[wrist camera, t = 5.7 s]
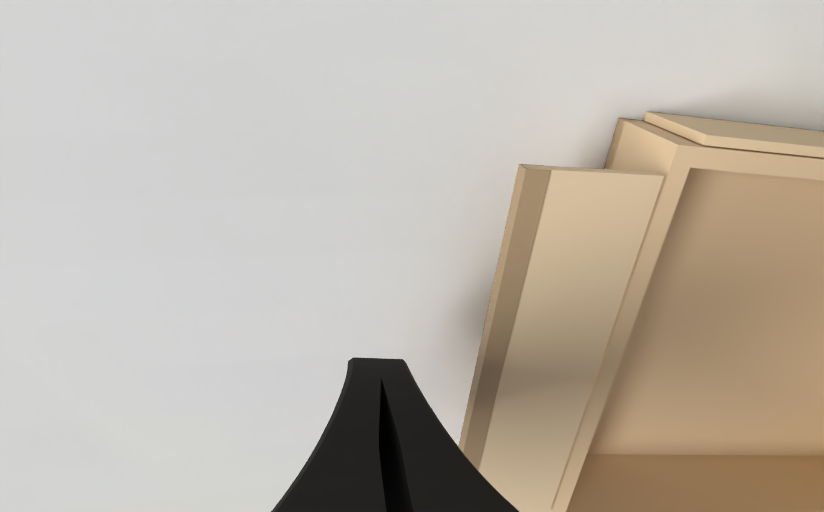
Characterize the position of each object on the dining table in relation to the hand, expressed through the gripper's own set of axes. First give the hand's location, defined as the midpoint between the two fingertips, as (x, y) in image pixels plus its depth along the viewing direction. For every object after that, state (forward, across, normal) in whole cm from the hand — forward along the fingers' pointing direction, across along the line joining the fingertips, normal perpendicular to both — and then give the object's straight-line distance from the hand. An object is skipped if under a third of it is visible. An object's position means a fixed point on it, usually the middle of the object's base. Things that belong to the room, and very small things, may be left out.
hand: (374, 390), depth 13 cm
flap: (+1, -7, 0) cm, 7 cm away
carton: (+4, -14, 0) cm, 14 cm away
